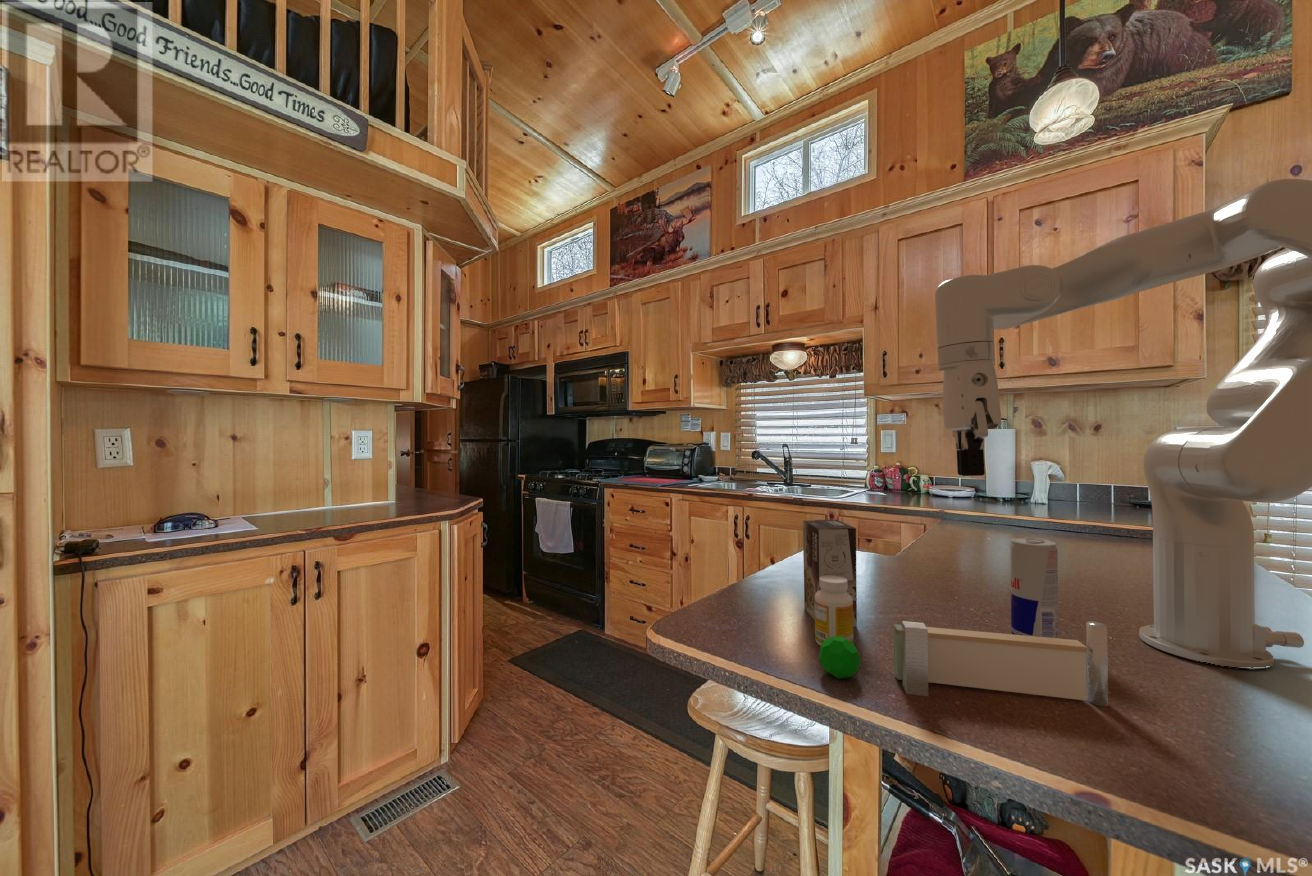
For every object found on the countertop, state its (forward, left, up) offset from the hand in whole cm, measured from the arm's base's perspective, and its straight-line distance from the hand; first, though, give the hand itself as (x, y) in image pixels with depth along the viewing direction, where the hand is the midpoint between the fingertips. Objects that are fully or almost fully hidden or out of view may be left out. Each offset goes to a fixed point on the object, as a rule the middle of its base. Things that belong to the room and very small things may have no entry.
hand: (971, 475), depth 75 cm
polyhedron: (+21, +20, -25) cm, 38 cm away
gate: (+4, +19, -24) cm, 31 cm away
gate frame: (+3, +20, -25) cm, 32 cm away
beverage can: (-8, +1, -25) cm, 26 cm away
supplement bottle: (+21, +10, -25) cm, 34 cm away
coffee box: (+21, -1, -25) cm, 33 cm away
